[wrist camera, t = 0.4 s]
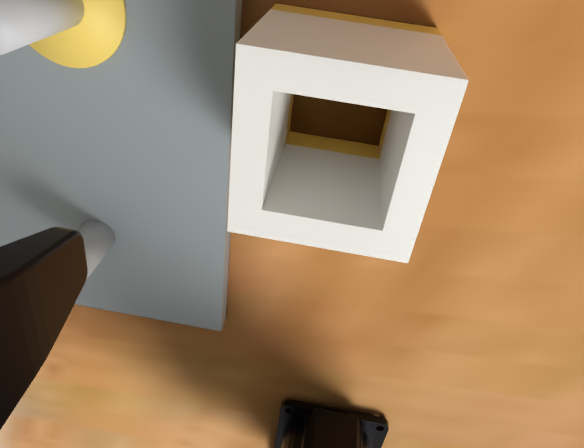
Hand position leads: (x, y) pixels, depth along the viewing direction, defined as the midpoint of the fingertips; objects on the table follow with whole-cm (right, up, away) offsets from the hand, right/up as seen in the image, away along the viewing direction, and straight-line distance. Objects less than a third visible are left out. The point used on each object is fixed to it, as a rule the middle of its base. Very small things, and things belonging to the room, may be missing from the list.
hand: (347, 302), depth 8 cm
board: (-9, +5, +12) cm, 16 cm away
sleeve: (+1, +6, +10) cm, 12 cm away
